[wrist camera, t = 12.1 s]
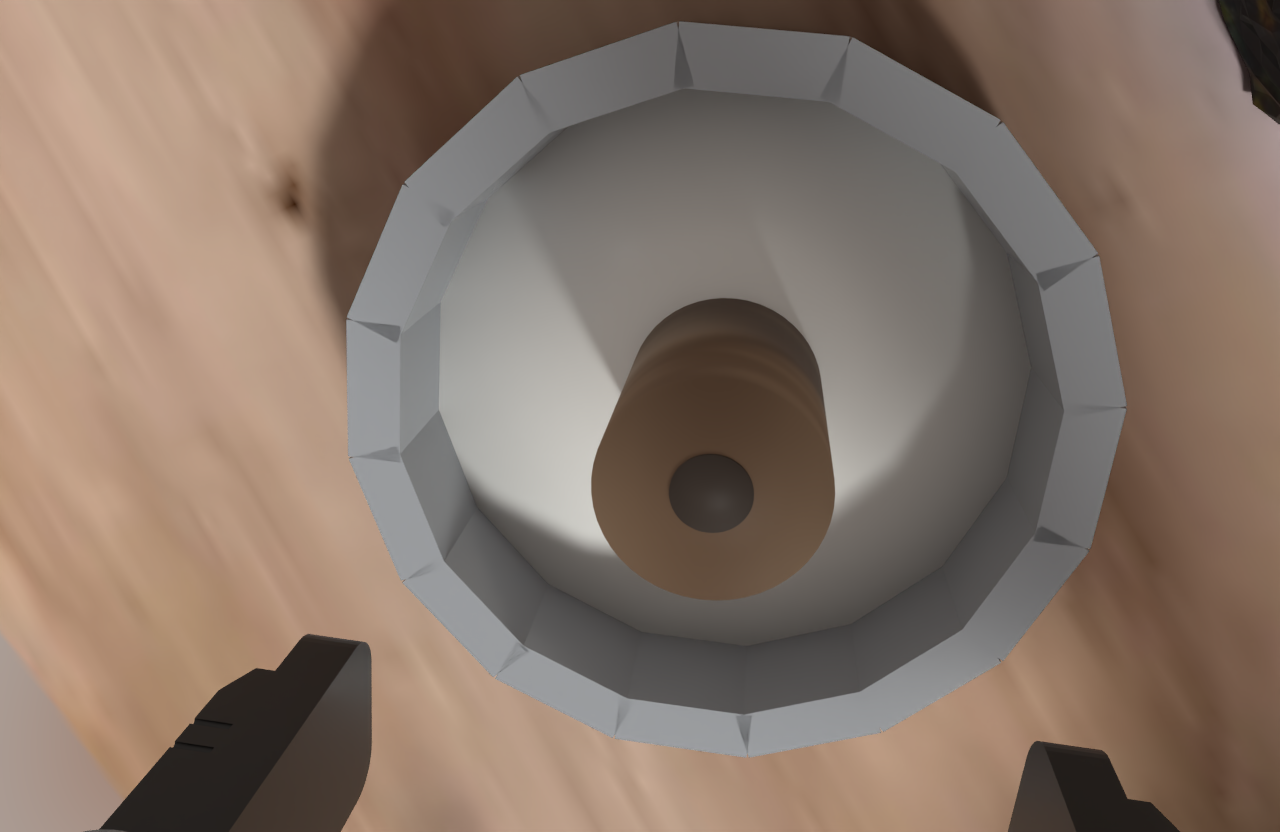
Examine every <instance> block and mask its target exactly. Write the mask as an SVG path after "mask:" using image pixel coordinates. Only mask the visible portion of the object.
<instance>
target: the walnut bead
mask: <svg viewBox="0 0 1280 832" xmlns="http://www.w3.org/2000/svg"><path fill="white" fill-rule="evenodd" d="M591 495H592V503H593V508H594V512H595V515H596V519H597V522H598V524H599V526H600V529H601V531H602V533H603V535H604V537H605V539H606V540H607V542H608V543H609V545H610V547H611V548H612V549H613V551H614V552H615V553H616V554H617V556H618V557H619V558H620V559H621V560H622V561H623V562H624V563H625V564H626V565H627V566H628V567H629V568H630V569H631V570H633V571H634V572H635V573H636V574H638V575H639V576H640V577H642V578H643V579H645V580H646V581H648V582H650V583H652V584H653V585H655V586H657V587H659V588H662V589H664V590H666V591H668V592H671V593H674V594H677V595H681V596H684V597H689V598H694V599H700V600H713V601H716V600H733V599H739V598H745V597H749V596H752V595H756V594H759V593H762V592H764V591H766V590H769V589H771V588H774V587H775V586H777V585H779V584H781V583H782V582H784V581H786V580H787V579H789V578H790V577H791V576H793V575H794V574H795V573H797V572H798V571H799V570H800V569H801V568H802V567H803V566H804V565H805V564H806V563H807V562H808V561H809V560H810V559H811V557H812V556H813V555H814V553H815V552H816V551H817V550H818V548H819V546H820V544H821V543H822V541H823V539H824V537H825V535H826V533H827V530H828V528H829V525H830V523H831V519H832V515H833V510H834V502H835V480H834V472H833V465H832V457H831V450H830V442H829V435H828V427H827V420H826V412H825V405H824V397H823V390H822V383H821V376H820V371H819V366H818V364H817V361H816V358H815V355H814V353H813V351H812V349H811V347H810V345H809V344H808V342H807V341H806V339H805V338H804V337H803V335H802V334H801V333H800V332H799V331H798V329H797V328H796V327H795V326H794V325H793V324H792V323H790V322H789V321H788V320H787V319H786V318H784V317H783V316H781V315H780V314H778V313H777V312H775V311H773V310H772V309H769V308H767V307H765V306H763V305H761V304H757V303H754V302H751V301H747V300H741V299H734V298H717V299H708V300H703V301H699V302H695V303H693V304H690V305H687V306H685V307H683V308H681V309H679V310H677V311H675V312H673V313H672V314H670V315H669V316H667V317H666V318H664V319H663V320H662V321H661V322H660V323H659V324H658V325H657V326H656V327H655V328H654V329H653V330H652V331H651V332H650V334H649V335H648V336H647V337H646V339H645V341H644V342H643V344H642V345H641V347H640V349H639V351H638V354H637V356H636V358H635V361H634V363H633V365H632V368H631V370H630V373H629V375H628V377H627V380H626V382H625V385H624V387H623V389H622V392H621V394H620V397H619V399H618V401H617V404H616V406H615V409H614V411H613V413H612V416H611V418H610V421H609V423H608V425H607V428H606V430H605V433H604V435H603V437H602V440H601V442H600V445H599V447H598V449H597V453H596V456H595V459H594V463H593V469H592V476H591Z"/></svg>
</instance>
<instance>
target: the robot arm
mask: <svg viewBox="0 0 1280 832" xmlns="http://www.w3.org/2000/svg"><path fill="white" fill-rule="evenodd" d="M371 746H372V713H371V651H370V648H369V645H368V644H367V643H366V642H360V641H353V640H347V639H340V638H333V637H326V636H319V635H312V634H307V635H305V636H303V637H302V638H301V639H300V640H299V642H298V643H297V644H296V646H295V647H294V648H293V649H292V651H291V652H290V653H289V654H288V656H287V657H286V658H285V659H284V661H283V662H282V663H281V664H280V666H279V667H278V668H277V669H276V671H272V670H265V669H258V668H256V669H254V670H252V671H251V672H249V673H247V674H245V675H244V676H242V677H240V678H239V679H237V680H235V681H234V682H232V683H230V684H229V685H227V686H225V687H223V688H222V689H220V690H219V691H218V692H217V693H216V694H215V695H214V696H213V698H212V699H211V700H210V701H209V702H208V703H207V705H206V706H205V707H204V708H203V709H202V710H201V712H200V713H199V714H198V715H197V716H196V717H195V721H194V724H189V726H188V727H187V728H186V729H185V730H184V731H183V733H182V734H181V735H180V736H179V737H178V738H177V740H176V741H175V745H174V747H173V748H171V747H170V748H169V749H168V750H167V751H166V752H165V754H164V755H163V756H162V757H161V758H160V759H159V761H158V762H157V763H156V764H155V765H154V766H153V768H152V769H151V770H150V771H149V772H148V773H147V775H146V776H145V777H144V778H143V779H142V780H141V781H140V783H139V784H138V785H137V786H136V787H135V788H134V790H133V791H132V792H131V793H130V794H129V795H128V797H127V798H126V799H125V800H124V801H123V802H122V804H121V805H120V806H119V807H118V808H117V809H116V811H115V812H114V813H113V814H112V815H111V816H110V818H109V819H108V820H107V821H106V822H105V823H104V825H103V826H102V827H101V828H100V829H99V830H92V831H85V832H341V830H342V828H343V826H344V825H345V823H346V821H347V819H348V817H349V816H350V814H351V812H352V810H353V808H354V806H355V805H356V803H357V801H358V799H359V797H360V795H361V792H362V790H363V787H364V784H365V781H366V777H367V773H368V769H369V764H370V757H371ZM1008 832H1180V831H1179V830H1178V829H1177V828H1176V827H1175V826H1174V825H1173V824H1172V823H1171V822H1170V821H1169V820H1168V819H1167V818H1166V817H1165V816H1164V815H1163V814H1162V813H1161V812H1160V811H1159V810H1158V809H1157V808H1156V807H1155V806H1154V805H1153V804H1152V803H1151V802H1144V801H1137V800H1131V799H1127V797H1126V794H1125V792H1124V790H1123V788H1122V786H1121V784H1120V781H1119V779H1118V777H1117V775H1116V773H1115V770H1114V768H1113V766H1112V764H1111V762H1110V760H1109V758H1108V756H1107V754H1106V753H1105V752H1104V751H1102V750H1096V749H1089V748H1082V747H1075V746H1068V745H1061V744H1054V743H1047V742H1040V741H1036V742H1034V743H1033V744H1032V746H1031V748H1030V750H1029V752H1028V755H1027V759H1026V762H1025V766H1024V770H1023V774H1022V778H1021V782H1020V786H1019V790H1018V794H1017V798H1016V802H1015V806H1014V810H1013V814H1012V818H1011V822H1010V825H1009V829H1008Z"/></svg>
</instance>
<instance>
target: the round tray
mask: <svg viewBox="0 0 1280 832" xmlns="http://www.w3.org/2000/svg"><path fill="white" fill-rule="evenodd" d="M1097 254H1098V253H1097V251H1096V250H1095V248H1094V247H1093V246H1092V244H1091V243H1090V241H1089V240H1088V239H1087V237H1086V236H1085V235H1084V233H1083V232H1082V230H1081V229H1080V228H1079V226H1078V225H1077V224H1076V222H1075V221H1074V219H1073V218H1072V217H1071V215H1070V214H1069V212H1068V211H1067V210H1066V208H1065V207H1064V206H1063V204H1062V203H1061V201H1060V200H1059V199H1058V197H1057V196H1056V195H1055V193H1054V192H1053V190H1052V189H1051V188H1050V186H1049V185H1048V183H1047V182H1046V181H1045V179H1044V178H1043V177H1042V175H1041V174H1040V172H1039V171H1038V170H1037V168H1036V167H1035V166H1034V164H1033V163H1032V161H1031V160H1030V159H1029V157H1028V156H1027V154H1026V153H1025V152H1024V150H1023V149H1022V148H1021V146H1020V145H1019V143H1018V142H1017V141H1016V139H1015V138H1014V137H1013V135H1012V134H1011V132H1010V131H1009V130H1008V128H1007V127H1006V125H1005V124H1004V123H1003V122H1001V121H1000V119H998V118H996V117H994V116H993V115H991V114H989V113H987V112H985V111H984V110H982V109H980V108H978V107H977V106H975V105H973V104H971V103H969V102H968V101H966V100H964V99H962V98H960V97H959V96H957V95H955V94H953V93H951V92H950V91H948V90H946V89H944V88H943V87H941V86H939V85H937V84H935V83H934V82H932V81H930V80H928V79H926V78H925V77H923V76H921V75H919V74H918V73H916V72H914V71H912V70H910V69H909V68H907V67H905V66H903V65H901V64H900V63H898V62H896V61H894V60H892V59H891V58H889V57H887V56H885V55H884V54H882V53H880V52H878V51H876V50H875V49H873V48H871V47H869V46H867V45H866V44H864V43H862V42H860V41H858V40H857V39H855V38H853V37H850V36H841V35H831V34H819V33H808V32H797V31H785V30H774V29H763V28H751V27H740V26H729V25H717V24H706V23H695V22H682V21H679V22H674V23H671V24H668V25H665V26H662V27H659V28H656V29H653V30H650V31H647V32H644V33H641V34H638V35H636V36H633V37H630V38H627V39H624V40H621V41H618V42H615V43H612V44H609V45H606V46H603V47H600V48H598V49H595V50H592V51H589V52H586V53H583V54H580V55H577V56H574V57H571V58H568V59H565V60H562V61H559V62H557V63H554V64H551V65H548V66H545V67H542V68H539V69H536V70H533V71H530V72H527V73H524V74H521V75H520V76H518V77H516V78H515V79H514V80H513V81H512V82H511V83H510V84H509V85H508V86H507V87H506V88H505V89H503V90H502V91H501V92H500V93H499V94H498V95H497V96H496V97H495V98H494V99H493V100H492V101H491V102H490V103H488V104H487V105H486V106H485V107H484V108H483V109H482V110H481V111H480V112H479V113H478V114H477V115H476V116H474V117H473V118H472V119H471V120H470V121H469V122H468V123H467V124H466V125H465V126H464V127H463V128H462V129H461V130H459V131H458V132H457V133H456V134H455V135H454V136H453V137H452V138H451V139H450V140H449V141H448V142H447V143H446V144H444V145H443V146H442V147H441V148H440V149H439V150H438V151H437V152H436V153H435V154H434V155H433V156H432V157H430V158H429V159H428V160H427V161H426V162H425V163H424V164H423V165H422V166H421V167H420V168H419V169H418V170H417V171H415V172H414V173H413V174H412V175H411V176H410V177H409V178H408V179H407V180H406V181H405V184H402V187H401V189H400V192H399V194H398V196H397V199H396V201H395V203H394V206H393V208H392V211H391V213H390V215H389V218H388V220H387V223H386V225H385V227H384V230H383V232H382V234H381V237H380V239H379V242H378V244H377V246H376V249H375V251H374V253H373V256H372V258H371V261H370V263H369V265H368V268H367V270H366V273H365V275H364V277H363V280H362V282H361V284H360V287H359V289H358V292H357V294H356V296H355V299H354V301H353V303H352V306H351V308H350V311H349V313H348V315H347V318H348V319H347V320H346V336H347V403H348V456H350V458H349V460H350V463H351V465H352V467H353V470H354V472H355V474H356V477H357V479H358V481H359V484H360V486H361V488H362V491H363V493H364V495H365V498H366V500H367V502H368V505H369V507H370V509H371V512H372V514H373V516H374V519H375V521H376V523H377V526H378V528H379V530H380V533H381V535H382V537H383V540H384V542H385V544H386V547H387V549H388V551H389V554H390V556H391V558H392V561H393V563H394V565H395V568H396V570H397V572H398V575H399V577H400V579H401V580H404V581H403V582H402V583H403V584H404V585H405V586H406V587H407V588H408V589H409V590H410V591H411V592H412V593H413V594H414V595H415V596H416V597H417V598H418V599H419V600H420V601H421V603H422V604H423V605H424V606H425V607H426V608H427V609H428V610H429V611H430V612H431V613H432V614H433V615H434V616H435V617H436V618H437V619H438V620H439V621H440V622H441V623H442V624H443V625H444V626H445V628H446V629H447V630H448V631H449V632H450V633H451V634H452V635H453V636H454V637H455V638H456V639H457V640H458V641H459V642H460V643H461V644H462V645H463V646H464V647H465V648H466V649H467V650H468V651H469V652H470V654H471V655H472V656H473V657H474V658H475V659H476V660H477V661H478V662H479V663H480V664H481V665H482V666H483V667H484V668H485V669H486V670H487V671H488V672H489V673H490V674H491V675H492V676H493V677H494V676H496V675H497V676H496V678H495V679H497V680H499V681H501V682H503V683H505V684H507V685H509V686H511V687H513V688H515V689H517V690H519V691H521V692H523V693H525V694H527V695H529V696H531V697H532V698H534V699H536V700H538V701H540V702H542V703H544V704H546V705H548V706H550V707H552V708H554V709H556V710H558V711H560V712H562V713H564V714H566V715H568V716H570V717H572V718H574V719H576V720H578V721H580V722H582V723H584V724H586V725H588V726H590V727H592V728H594V729H596V730H598V731H600V732H602V733H604V734H606V735H608V736H610V737H612V738H613V736H614V735H615V739H620V740H627V741H634V742H641V743H648V744H655V745H662V746H669V747H676V748H683V749H690V750H697V751H704V752H711V753H718V754H725V755H732V756H739V757H746V756H747V754H748V756H749V757H754V756H760V755H765V754H770V753H776V752H781V751H786V750H792V749H797V748H802V747H808V746H813V745H818V744H824V743H829V742H834V741H840V740H845V739H850V738H856V737H861V736H866V735H871V734H877V733H881V730H882V731H883V732H884V731H886V730H887V729H889V728H891V727H892V726H894V725H896V724H898V723H899V722H901V721H903V720H904V719H906V718H908V717H909V716H911V715H913V714H915V713H916V712H918V711H920V710H921V709H923V708H925V707H927V706H928V705H930V704H932V703H933V702H935V701H937V700H938V699H940V698H942V697H944V696H945V695H947V694H949V693H950V692H952V691H954V690H955V689H957V688H959V687H961V686H962V685H964V684H966V683H967V682H969V681H971V680H972V679H974V678H976V677H978V676H979V675H981V674H983V673H984V672H986V671H988V670H990V669H991V668H993V667H995V666H996V665H998V664H1000V663H1001V661H1000V660H1002V661H1004V659H1005V658H1006V657H1007V655H1008V654H1009V653H1010V652H1011V650H1012V649H1013V648H1014V647H1015V645H1016V644H1017V643H1018V641H1019V640H1020V639H1021V638H1022V636H1023V635H1024V634H1025V632H1026V631H1027V630H1028V629H1029V627H1030V626H1031V625H1032V624H1033V622H1034V621H1035V620H1036V618H1037V617H1038V616H1039V615H1040V613H1041V612H1042V611H1043V609H1044V608H1045V607H1046V606H1047V604H1048V603H1049V602H1050V601H1051V599H1052V598H1053V597H1054V595H1055V594H1056V593H1057V592H1058V590H1059V589H1060V588H1061V587H1062V585H1063V584H1064V583H1065V581H1066V580H1067V579H1068V578H1069V576H1070V575H1071V574H1072V572H1073V571H1074V570H1075V569H1076V567H1077V566H1078V565H1079V564H1080V562H1081V561H1082V560H1083V558H1084V557H1085V556H1086V555H1087V553H1088V552H1089V550H1088V548H1090V549H1091V545H1092V541H1093V537H1094V533H1095V529H1096V525H1097V522H1098V518H1099V514H1100V510H1101V506H1102V502H1103V499H1104V495H1105V491H1106V487H1107V483H1108V479H1109V475H1110V472H1111V468H1112V464H1113V460H1114V456H1115V452H1116V449H1117V445H1118V441H1119V437H1120V433H1121V429H1122V425H1123V422H1124V418H1125V414H1126V410H1127V408H1126V407H1125V406H1127V403H1126V398H1125V392H1124V387H1123V382H1122V376H1121V371H1120V365H1119V360H1118V355H1117V349H1116V344H1115V338H1114V333H1113V328H1112V322H1111V317H1110V311H1109V306H1108V301H1107V295H1106V290H1105V284H1104V279H1103V274H1102V268H1101V263H1100V257H1099V256H1098V255H1097ZM717 298H734V299H741V300H747V301H751V302H754V303H757V304H761V305H763V306H765V307H767V308H769V309H772V310H773V311H775V312H777V313H778V314H780V315H781V316H783V317H784V318H786V319H787V320H788V321H789V322H790V323H792V324H793V325H794V326H795V327H796V328H797V329H798V331H799V332H800V333H801V334H802V335H803V337H804V338H805V339H806V341H807V342H808V344H809V345H810V347H811V349H812V351H813V353H814V355H815V358H816V361H817V364H818V366H819V371H820V376H821V383H822V390H823V397H824V405H825V412H826V420H827V427H828V435H829V442H830V450H831V457H832V465H833V472H834V480H835V502H834V510H833V515H832V519H831V523H830V525H829V528H828V530H827V533H826V535H825V537H824V539H823V541H822V543H821V544H820V546H819V548H818V550H817V551H816V552H815V553H814V555H813V556H812V557H811V559H810V560H809V561H808V562H807V563H806V564H805V565H804V566H803V567H802V568H801V569H800V570H799V571H798V572H797V573H795V574H794V575H793V576H791V577H790V578H789V579H787V580H786V581H784V582H782V583H781V584H779V585H777V586H775V587H774V588H771V589H769V590H766V591H764V592H762V593H759V594H756V595H752V596H749V597H745V598H739V599H733V600H716V601H713V600H700V599H694V598H689V597H684V596H681V595H677V594H674V593H671V592H668V591H666V590H664V589H662V588H659V587H657V586H655V585H653V584H652V583H650V582H648V581H646V580H645V579H643V578H642V577H640V576H639V575H638V574H636V573H635V572H634V571H633V570H631V569H630V568H629V567H628V566H627V565H626V564H625V563H624V562H623V561H622V560H621V559H620V558H619V557H618V556H617V554H616V553H615V552H614V551H613V549H612V548H611V547H610V545H609V543H608V542H607V540H606V539H605V537H604V535H603V533H602V531H601V529H600V526H599V524H598V522H597V519H596V515H595V512H594V508H593V503H592V495H591V476H592V469H593V463H594V459H595V456H596V453H597V449H598V447H599V445H600V442H601V440H602V437H603V435H604V433H605V430H606V428H607V425H608V423H609V421H610V418H611V416H612V413H613V411H614V409H615V406H616V404H617V401H618V399H619V397H620V394H621V392H622V389H623V387H624V385H625V382H626V380H627V377H628V375H629V373H630V370H631V368H632V365H633V363H634V361H635V358H636V356H637V354H638V351H639V349H640V347H641V345H642V344H643V342H644V341H645V339H646V337H647V336H648V335H649V334H650V332H651V331H652V330H653V329H654V328H655V327H656V326H657V325H658V324H659V323H660V322H661V321H662V320H663V319H664V318H666V317H667V316H669V315H670V314H672V313H673V312H675V311H677V310H679V309H681V308H683V307H685V306H687V305H690V304H693V303H695V302H699V301H703V300H708V299H717ZM880 728H881V730H880Z"/></svg>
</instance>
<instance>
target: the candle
mask: <svg viewBox="0 0 1280 832" xmlns="http://www.w3.org/2000/svg"><path fill="white" fill-rule="evenodd" d="M1218 1H1219V3H1220V6H1221V10H1222V14H1223V18H1224V21H1225V23H1226V25H1227V27H1228V29H1229V31H1230V33H1231V36H1232V38H1233V40H1234V42H1235V44H1236V46H1237V48H1238V50H1239V52H1240V54H1241V56H1242V58H1243V61H1244V63H1245V65H1246V67H1247V69H1248V71H1249V73H1250V78H1251V91H1252V101H1253V105H1255V106H1256V107H1258V108H1259V109H1260V110H1262V111H1263V112H1264V113H1265V114H1267V115H1268V116H1269V117H1271V118H1272V119H1273V120H1274V121H1276V122H1277V123H1278V124H1280V0H1218Z"/></svg>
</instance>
